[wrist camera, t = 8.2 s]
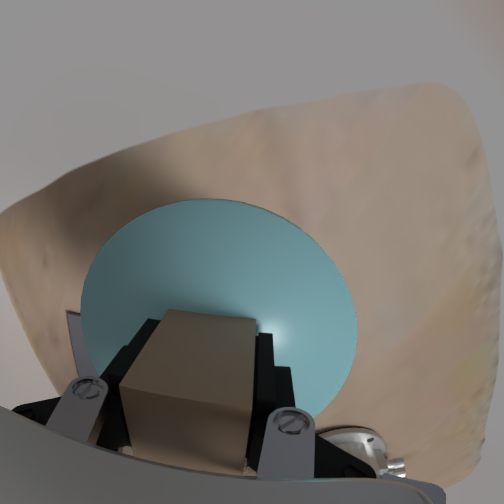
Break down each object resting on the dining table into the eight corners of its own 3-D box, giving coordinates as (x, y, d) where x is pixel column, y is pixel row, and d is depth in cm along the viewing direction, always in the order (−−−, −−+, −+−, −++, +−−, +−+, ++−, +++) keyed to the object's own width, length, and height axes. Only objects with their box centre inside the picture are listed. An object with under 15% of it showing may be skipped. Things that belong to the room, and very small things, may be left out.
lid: (376, 216, 11) (462, 251, 6) (320, 440, 14) (335, 526, 9) (83, 190, 11) (-17, 207, 6) (106, 411, 14) (64, 483, 9)
